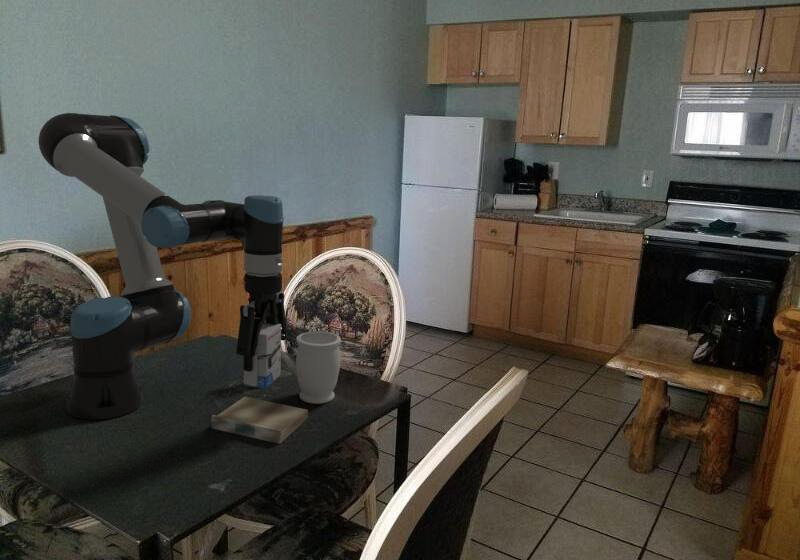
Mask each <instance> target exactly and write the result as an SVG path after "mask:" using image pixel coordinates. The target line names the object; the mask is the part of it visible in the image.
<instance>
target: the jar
mask: <svg viewBox="0 0 800 560" xmlns="http://www.w3.org/2000/svg"><path fill="white" fill-rule="evenodd" d="M341 342H342V338H341V336H340V335H338V334H337V333H334V332H329V331H307V332H303V333H300V334H299V335H298V336H297V337H296V343H297V344H298V347H297V350H296V356H295V367H296V368H295V369H296V374H297V382H298V386H299V388H300V390H301V391H300V393H299V399H300V400H301V401H303V402H305V403H309V404H312V405H313V404H314V405H315V404H316V405H317V404H319V405H320V404H326V403H328V402H331V401H333V400H334V399H335V392H334V390H335V387H336V386H337V383H338V378H339V377H338V376H339V374H340V369H341V351H340V350H341V349H340V345H341Z"/></svg>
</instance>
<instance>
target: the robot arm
mask: <svg viewBox="0 0 800 560" xmlns="http://www.w3.org/2000/svg"><path fill="white" fill-rule="evenodd" d="M38 147H39V151H40V153H41V155H42V157H43V160H45V161H46V162H47V164H48V165H50V166H51V167H52V168H53V169H55V170H56V171H57V172H59V173H60V174H61V175H63V176H65V177H71V178H72V177H74V178H76V179H77V180H78V181H80V182H82V183H83V184H84V185H86V186H87V187H88V188H90V189H92V191H94V192H96V194H98V195H100V196H102V200H103V204H104V207H105V211H106V214H107V219H108V223H109V227H110V230H111V234H112V237H113V238H112V239H113V241H114V245H115V249H116V254H117V257H118V261H119V265H120V268H121V273H122V276H123V279H124V284H125V286H124V289H123V290H122V292H121V293H120V296H107V297H99V298H94V299H90V300H87V301H85V302H82V303H81V304H79V305H77V306H76V307H75V308H74V310H73V311H72V313H71V315H70V316H71V317H70V329H69V331H70V335H71V347H72V348H71V349H72V350H71V351H72V363H73V379H72V382H71V385H70V389H69V394H68V395H67V398H66V411H67V413H68V414H69V415H70V416H71V417H74V418H76V419H80V420H81V419H82V420H89V421H90V420H94V421H97V420H106V419H107V420H108V419H113V418H114V419H115V418H118V417H121V416H125V415H127V414H129V413H132V412H134V411H136V410H137V409H139V408H140V407H141V405H143V402H144V395H143V394H144V393H143V389H142V387H141V386H140V384H139V381H138V377H137V375H136V372H135V369H134V360H133V359H134V354H135V353H137V352H141V351H144V350H147V349H149V348H153V347H157V346H160V345H163V344H164V345H165V344H168V343H170V342H172V341H174V340H176V339H179V338H181V337H182V336H184V334H185V333H186V332H187V331H188V328H189V327H190V324H191V321H192V309H191V305H190V302H189V300H188V298H187V297H186V296H185V294H184V293H182V292H180V291H178V290H175V286H174V283H173V281H170V280H169V279H167V278H166V277H165V275H164V271H163V267H162V263H161V259H160V255H159V251H158V248H176V247H180V246H185V245H190V244H191V245H192V244H197V243H205V242H210V241H211V242H212V241H219V240H224V239H229V240H235V241H236V240H237V241H240V242H243V245H244V249H243V250H244V251H243V252H244V253H243V254H244V255H243V256H244V263H243V267H244V268H243V270H244V272H245V274H244V276H243V277H244V278H243V279H244V281H243V282H244V285H243V286H244V291H245V292H246V293H247V294H248V295H249V301H248V303H247V305H240V307H239V315H240V316H239V317H240V319H239V325H238V335H237V336H238V337H237V344H236V352H235V353H236V355H238V356H239V355H240V356H243V357H242V358H243V385H245V384H246V385H251V386H257V355H255V351H256V347H257V343H258V335H259V334H260V331H261V327H262V324H264V323H265V322H266V323H269V324H274V325H277V324H281V341H286V339H287V333H288V330H287V329H288V328H287V320H286V312H285V311H286V310H285V293H283V292H282V290H283V275H282V273H281V272H282V271H283V263H284V259H283V235H284V234H283V232H284V231H283V229H284V210H283V209H284V208H283V201H282V200H281V198H280V197H277V196H274V195H257V194H255V195H248V196H246V197H245V198H244V199H243V200H244V203H236V202H231V201H226V200H225V201H224V200H222V199H221V200H220V199H217V200H212V199H211V200H210V199H207V200H204V201H203V202H202V203H193V204H192V203H191V204H190V203H189V204H183V203H181V202H179V201H178V200H176V199H175V198H173V197H171V196H170V195H168V194H167V193H165V192H164V191H162V190H160V189H159V188H158V187H156V186H155V185H154V184H152V183H151V182H149V181H147V180H146V179H144V177H142V174H143V173H144V171H145V169H144V165H145V164H146V163H147V162H148V159H149V155H148V154H149V153H150V143H149V140H148V136H147V134H146V132H145V131H144V129H143V128H142V127H141V126H140V125H139V123H137V122H136V121H134V120H133V119H131V118H127V117H123V116H118V115H115V114H114V115H113V114H112V115H111V114H110V115H105V114H104V115H102V114H89V113H87V114H86V113H76V112H65V113H61V114H57V115H55V116H53V117H51V118H49V119H48V120H47V121H46V122H45V123H44V124H43V126H42V127H41V129H40V132H39V135H38Z"/></svg>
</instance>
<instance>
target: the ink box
mask: <svg viewBox="0 0 800 560" xmlns="http://www.w3.org/2000/svg"><path fill="white" fill-rule="evenodd" d="M281 329H282V328H281V324H277V325H274V324H269V323H266V321H265V323H264V324H262V327H261V331H260V334H259V335H258V343H257V347H256V351H255V355H257V386H251V385H246V384H244V387H249V388H257V389H265V390H266V389H267V388H269V387H270V385H271V384H273V383H274V382H275V381H276V380H277V378H278V377H280V375H281V372H282V371H281V364H282V363H281V362H282V361H281V360H282V358H281V356H282V355H281V354H282V351H281V350H282V342H281V341H282V340H281Z"/></svg>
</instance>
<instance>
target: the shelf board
mask: <svg viewBox="0 0 800 560" xmlns="http://www.w3.org/2000/svg"><path fill="white" fill-rule="evenodd" d="M308 419H309V410H308V409H306V408H301V407H295V406H291V405H287V404H281V403H277V402H272V401H267V400H261V399H257V398H254V397H249V396H243V397H242V398H241V399H240V400H237V401H236V402H234V403H233V404H232V405H230V406H229V407H227V408H226V409H225V410H223V411H222V412H220V413H219V414H217V415H216V414H212V415H211V429H213V430H219V431H222V432H227V433H231V434H236V435H239V436H244V437H247V438H248V437H249V438H251V439H257V440H262V441H267V442H271V443H275V444H279V445H280V444H281V443H282V442H284V441H285V439H287V437H289V436H290V435H291V434H292V433H293V432H294V431H296V430H297V429H298V428H299V427H300V426H301V425H302V424H303V423H304V422H305V421H307V420H308Z"/></svg>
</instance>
